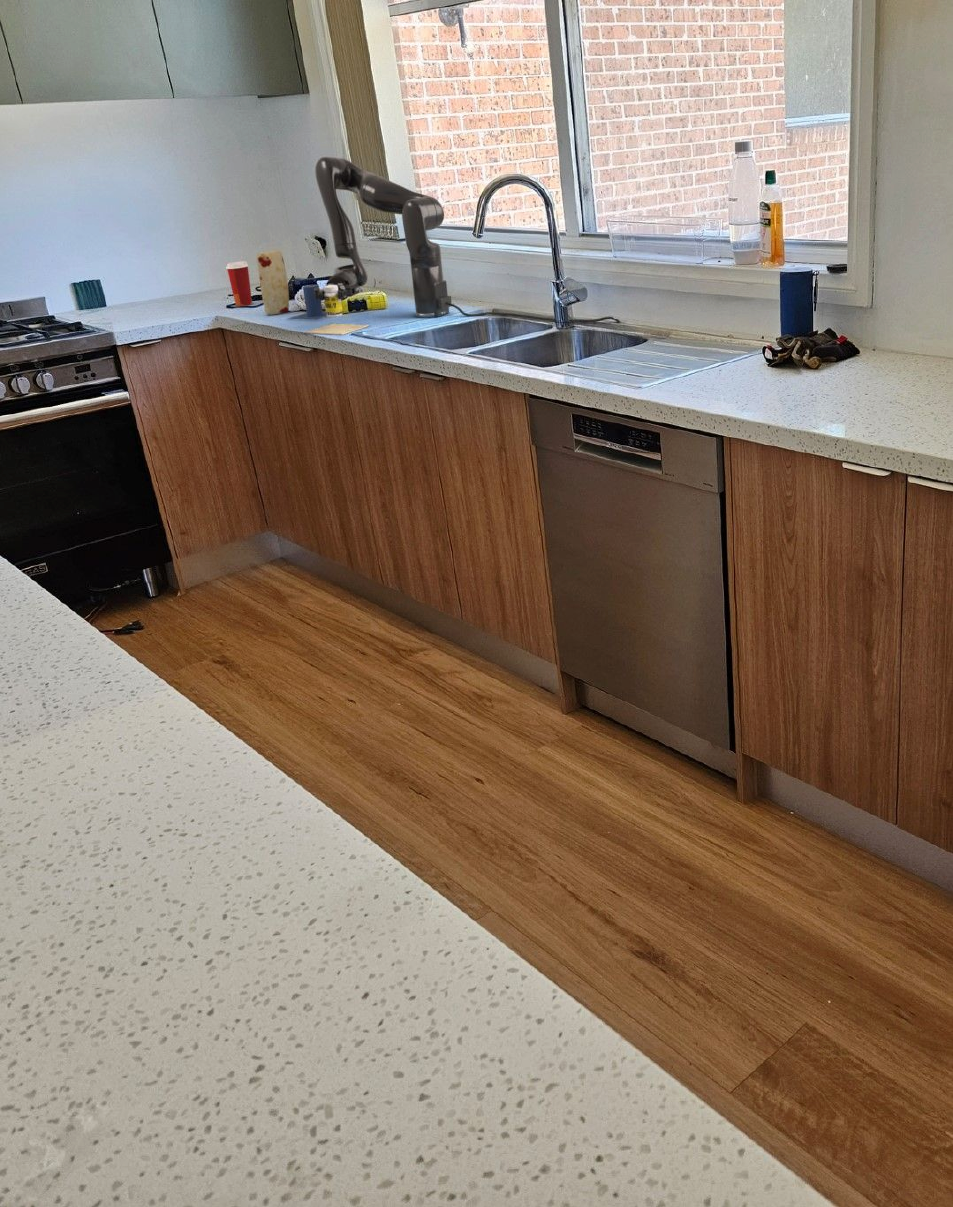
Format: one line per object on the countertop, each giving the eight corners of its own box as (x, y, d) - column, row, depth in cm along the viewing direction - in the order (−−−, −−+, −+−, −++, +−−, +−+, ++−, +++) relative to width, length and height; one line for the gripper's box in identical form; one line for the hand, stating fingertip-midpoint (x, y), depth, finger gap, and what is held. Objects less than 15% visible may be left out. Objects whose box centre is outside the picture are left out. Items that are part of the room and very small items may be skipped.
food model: (271, 317, 344) (261, 252, 336) (260, 316, 349) (249, 252, 340) (296, 311, 350) (286, 248, 342) (284, 310, 355) (274, 247, 346)
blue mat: (341, 312, 341) (341, 312, 341) (316, 320, 332) (316, 319, 332) (313, 311, 347) (313, 310, 347) (288, 319, 339) (288, 318, 338)
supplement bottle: (324, 317, 313) (319, 288, 309) (330, 314, 317) (326, 284, 313) (339, 317, 312) (334, 287, 308) (345, 313, 316) (341, 284, 312)
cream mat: (368, 326, 316) (368, 325, 316) (342, 335, 308) (341, 333, 307) (332, 324, 324) (332, 323, 324) (305, 333, 315) (305, 332, 315)
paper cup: (258, 301, 376) (251, 260, 370) (250, 306, 369) (243, 264, 363) (237, 303, 377) (229, 262, 371) (229, 307, 371) (221, 265, 365)
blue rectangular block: (326, 313, 340) (322, 284, 336) (315, 317, 336) (311, 287, 333) (314, 313, 343) (310, 284, 339) (303, 316, 339) (299, 287, 335)
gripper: (315, 274, 323) (303, 284, 308) (362, 271, 322) (352, 281, 307) (319, 300, 327) (307, 311, 311) (365, 296, 325) (356, 307, 310)
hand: (330, 296), depth 309 cm, fingers closed on supplement bottle, 4 cm apart
